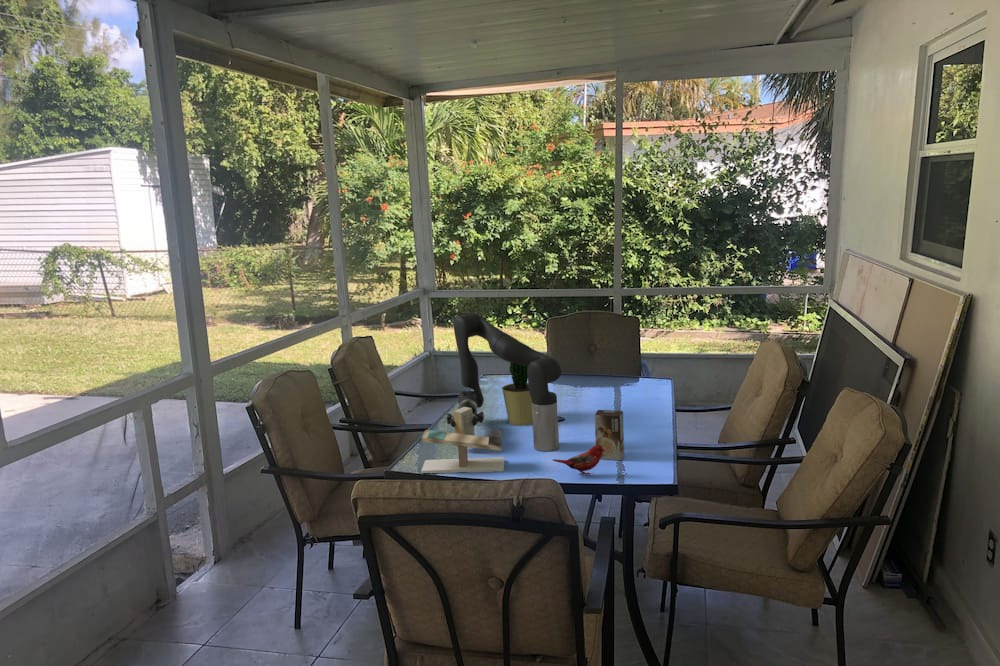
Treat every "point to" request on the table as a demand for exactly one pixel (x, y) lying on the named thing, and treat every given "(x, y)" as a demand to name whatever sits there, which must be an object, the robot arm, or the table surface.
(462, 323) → the robot arm
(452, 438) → the balance beam
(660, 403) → the table surface
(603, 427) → the coffee box
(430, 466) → the beam stand
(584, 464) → the decorative bird figurine
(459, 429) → the skincare box
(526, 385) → the potted cactus
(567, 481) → the table surface
